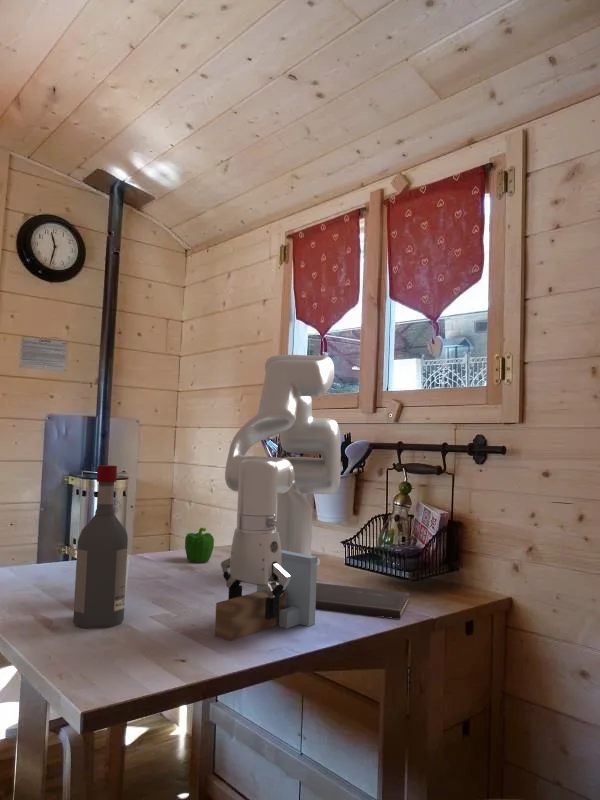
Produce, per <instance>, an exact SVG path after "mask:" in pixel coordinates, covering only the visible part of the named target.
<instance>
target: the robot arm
mask: <svg viewBox="0 0 600 800" xmlns="http://www.w3.org/2000/svg"><path fill="white" fill-rule="evenodd" d="M264 371H265V374H264V381H263V385H262V391H261V396H260V400H259V404H258V405H259V406H258V410H257V413H256V414H255V415H254V416H253V417H252V418H250V419H249V420H248V421H247V422H246V423H244V424H243V425H242V426H241V428H240V429H238V431H237V432H236V433H235V435H234V437H233V438H232V440H231V443H230V445H229V448H228V449H229V451H228V455H227V459H226V463H225V471H224V478H225V483H226V484H225V485H227V487H228V488H229V489H230V490H231V491H233V492H236V493H237V510H236V511H237V513H236V514H237V515H236V528H234V529H235V530H234V533H233V537H232V543H231V550H230V557H229V558H226V559H225V560H223V561H221V562H220V567H221V570H222V573H223V574H222V576H223V578H224V580H225V582H226V583H225V584H226V588H228V599H227V600H229V599H232V598H236V597H240V596H243V586H242V585H241V583H242V582H243V583H247V584H251V585H256V586H257V585H259V586H264V588H265V590H266V592H267V594H268V596H269V597H268V598H266V605H265V618H266V619H267V620H270V619H273V618H276V617H278V615H279V596H282V594H283V592H284V591H285V590H286V589H287V586H288V584H289V582H290V580H291V576H290V575H289V574H288V573H287V572H286V571H285V570H284V569H283V568H282V555H281V550H284V551H290V552H295V553H300V554H306V555H311V556H312V540H313V539H312V535H313V508H312V506H311V504H310V502H309V501H308V500H307V498H306V497H305V494H309V495H311V494H313V495H314V494H315V495H333V494H335V493H337V492H338V490H339V489H340V485H341V474H342V473H341V471H342V470H341V468H342V467H341V463H342V461H341V454H342V453H341V444H342V442H341V430H340V425H339V424H338V422H337V421H336V420H335V419H333V418H330V417H329V418H328V417H313V411H312V410H313V408H312V406H313V400H312V397H314V398H319V397H324V396H325V395H326V394H327V393H328V391H329V390H330V388H331V386H332V385H333V382H334V380H335V364H334V361H333V359H331V357H329V356H328V355H314V354H311V355H310V354H309V355H307V354H304V355H303V354H279V355H278V354H277V355H272V356H269V358H267V359H266V361H265V363H264ZM278 434H279V442H280V446H281V448H282V450H283V451H285V452H287V453H293V454H307V455H320V456H321V457H309V456H307V457H306V456H287V457H278V456H276V457H274V456H260V455H259V456H256V455H246V454H247V452H248V451H249V450H250V449H251V447H253V446H254V445H256V444H258V443H259V442H260V441H263V440H266V439H268V438H272V437H274V436H277V435H278ZM320 564H321V560H320V558H318V563H317V566H319V565H320ZM278 582H279V584H278ZM271 585H272V587H273V589H274V590H273V589H272V587H271Z"/></svg>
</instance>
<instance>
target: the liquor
mask: <svg viewBox="0 0 600 800" xmlns="http://www.w3.org/2000/svg"><path fill="white" fill-rule="evenodd" d="M117 470H118V466H117V465H106V464H105V465H97V469H96V471H97V472H96V482H97V483H98V484H97V487H98V488H97V497H96V498H97V502H96V503H97V504H96V509H95V512H94V515H93V517H92V518H91V519H90V520H89V521H88V522H87V523H86V525H85V526H84V527H83V528H82V529H81V532H80V534H79V537H78V539H77V545H76V546H77V548H76V550H77V551H76V564H75V565H76V566H75V581H74V585H75V586H74V596H73V597H74V602H73V617H72V618H73V619H72V622H73V624H74V626H75V627H78V628H81V629H97V628H99V629H101V628H113V627H116V626H119V625H121V624H122V622H123V621H124V620H125V616H124V615H125V602H126V597H125V584H126V564H127V554H128V544H129V543H128V541H129V537H128V531H127V529H126V528H125V527H124V525H123V524H122V522H120V520H119V519H118V518H117V516H116V515H115V509H114V494H115V482H117V477H118V476H117V474H118V473H117Z"/></svg>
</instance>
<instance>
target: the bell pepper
mask: <svg viewBox="0 0 600 800" xmlns="http://www.w3.org/2000/svg"><path fill="white" fill-rule="evenodd" d="M206 531H207V528H206V527H200V528H199V530H198V532H196V533H193V532H191V533H190V532H189V533H187V534H186V536H185V539H184V540H185V541H184V549H185V554H186V558H187V560H188V562H190V563H201V564H202V563H207V562H208V563H209V560H210V559H211V557H212V554H213V550H214V547H215V539H214V536H213V535H212V533H210V532H206ZM203 532H205V533H203Z"/></svg>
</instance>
